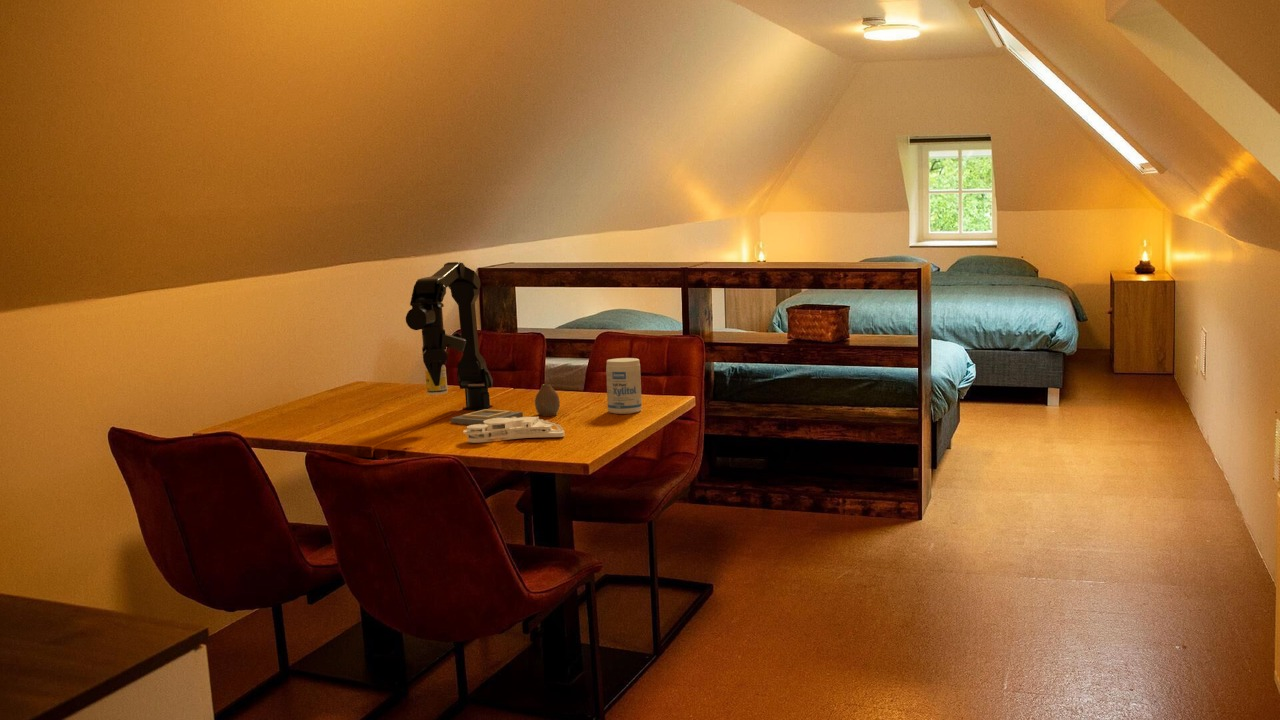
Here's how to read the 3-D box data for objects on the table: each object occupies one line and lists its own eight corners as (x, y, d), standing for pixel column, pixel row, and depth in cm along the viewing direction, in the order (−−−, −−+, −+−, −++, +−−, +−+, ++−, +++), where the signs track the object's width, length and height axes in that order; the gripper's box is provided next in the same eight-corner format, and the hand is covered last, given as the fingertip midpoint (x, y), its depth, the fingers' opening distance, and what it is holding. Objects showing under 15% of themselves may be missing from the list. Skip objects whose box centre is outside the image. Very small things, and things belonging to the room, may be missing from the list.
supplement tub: (614, 415, 305) (611, 362, 303) (603, 411, 314) (600, 359, 312) (647, 412, 308) (644, 359, 307) (635, 407, 317) (633, 356, 315)
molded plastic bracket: (557, 441, 275) (556, 423, 274) (459, 443, 279) (458, 426, 278) (576, 424, 297) (575, 408, 296) (486, 426, 301) (484, 410, 300)
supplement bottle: (428, 392, 299) (425, 356, 298) (448, 391, 299) (445, 355, 298) (426, 395, 294) (423, 359, 292) (446, 394, 294) (444, 357, 293)
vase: (556, 417, 307) (554, 386, 306) (532, 417, 308) (530, 386, 307) (563, 413, 314) (561, 382, 313) (539, 413, 315) (537, 383, 314)
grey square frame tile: (451, 423, 306) (450, 415, 305) (484, 414, 317) (484, 407, 317) (489, 426, 298) (489, 418, 298) (522, 417, 310) (522, 410, 309)
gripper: (464, 327, 287) (469, 386, 289) (461, 320, 305) (465, 377, 307) (420, 330, 284) (425, 390, 286) (420, 323, 303) (424, 380, 305)
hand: (436, 384), depth 296 cm, fingers closed on supplement bottle, 5 cm apart
